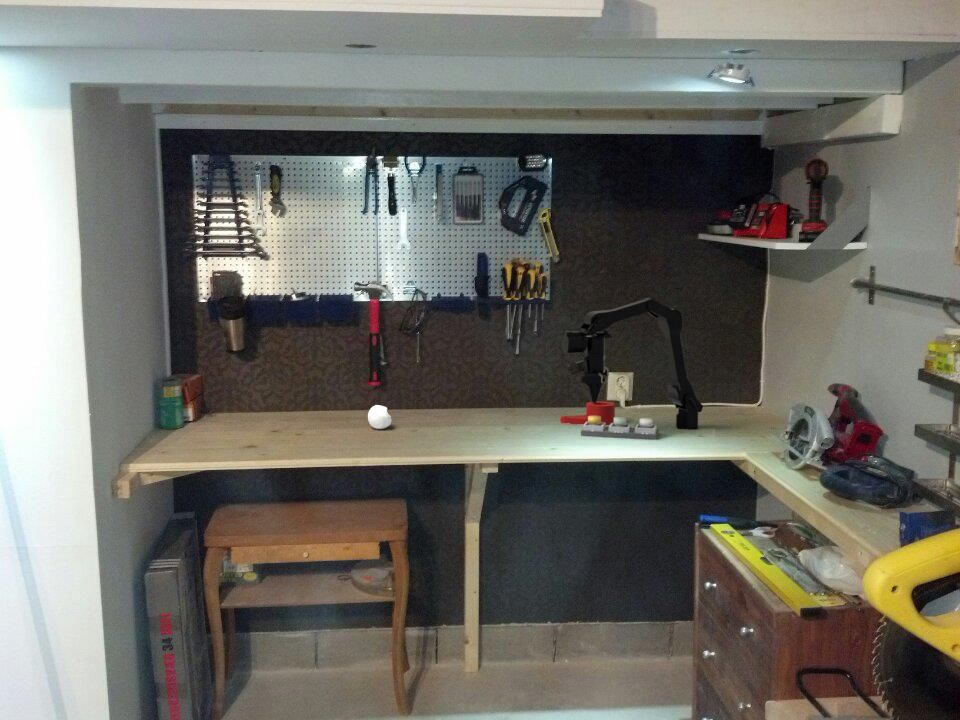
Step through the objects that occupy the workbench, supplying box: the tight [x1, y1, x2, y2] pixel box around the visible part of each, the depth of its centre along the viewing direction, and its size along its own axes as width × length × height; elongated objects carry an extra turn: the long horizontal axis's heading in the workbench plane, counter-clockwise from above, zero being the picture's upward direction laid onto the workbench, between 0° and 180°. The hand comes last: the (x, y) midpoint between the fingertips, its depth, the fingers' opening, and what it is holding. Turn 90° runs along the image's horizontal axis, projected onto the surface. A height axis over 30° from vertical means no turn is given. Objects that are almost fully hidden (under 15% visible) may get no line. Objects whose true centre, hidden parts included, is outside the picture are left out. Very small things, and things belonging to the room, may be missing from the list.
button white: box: [638, 417, 654, 427], centre depth 289 cm, size 4×4×2 cm
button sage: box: [614, 416, 628, 426], centre depth 291 cm, size 4×4×2 cm
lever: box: [559, 400, 616, 426], centre depth 310 cm, size 18×9×7 cm, turn 90°
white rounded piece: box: [367, 404, 392, 430], centre depth 300 cm, size 8×8×8 cm
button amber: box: [588, 416, 601, 424], centre depth 293 cm, size 4×4×2 cm
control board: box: [580, 422, 659, 441], centre depth 291 cm, size 23×9×3 cm, turn 75°
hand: (594, 401), depth 292 cm, fingers closed
